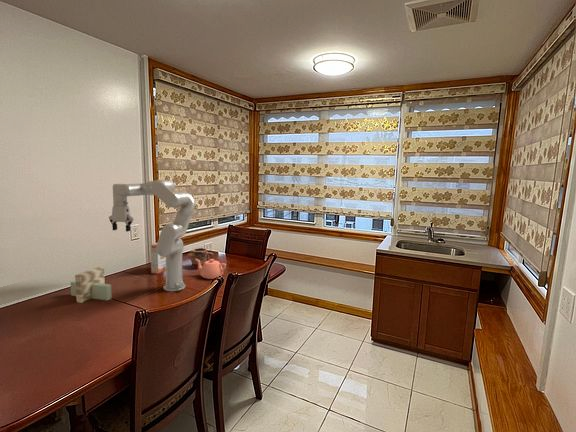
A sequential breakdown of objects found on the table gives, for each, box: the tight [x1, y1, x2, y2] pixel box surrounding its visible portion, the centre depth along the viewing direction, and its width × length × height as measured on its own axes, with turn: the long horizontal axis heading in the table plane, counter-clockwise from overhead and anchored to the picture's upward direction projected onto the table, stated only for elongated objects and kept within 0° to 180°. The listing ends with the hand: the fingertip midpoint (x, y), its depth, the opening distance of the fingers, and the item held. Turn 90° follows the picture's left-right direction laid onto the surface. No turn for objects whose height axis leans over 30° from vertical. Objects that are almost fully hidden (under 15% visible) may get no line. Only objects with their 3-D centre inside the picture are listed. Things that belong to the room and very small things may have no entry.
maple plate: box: [74, 266, 106, 304], centre depth 169 cm, size 16×3×15 cm, turn 168°
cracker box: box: [150, 241, 166, 275], centre depth 216 cm, size 14×6×21 cm, turn 168°
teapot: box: [196, 258, 227, 280], centre depth 208 cm, size 22×15×12 cm
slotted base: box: [70, 279, 113, 301], centre depth 169 cm, size 24×3×8 cm, turn 78°
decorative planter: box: [187, 247, 215, 270], centre depth 228 cm, size 20×12×14 cm, turn 92°
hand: (121, 230), depth 191 cm, fingers open, 9 cm apart
